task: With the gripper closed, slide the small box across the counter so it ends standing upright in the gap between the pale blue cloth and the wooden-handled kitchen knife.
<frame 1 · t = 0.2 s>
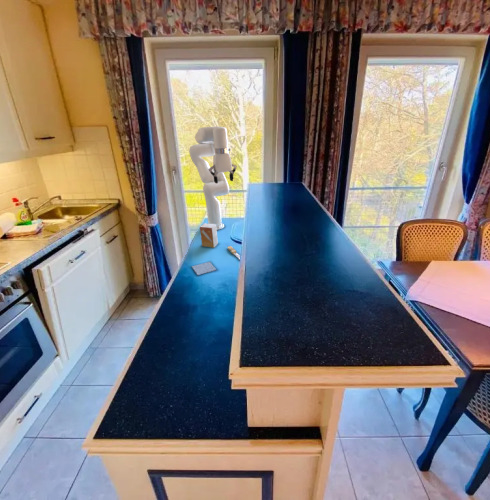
hand: (223, 181, 164), 36 cm above the table, tool pointing down, fingers open, 9 cm apart
small box: (210, 245, 172), on the table
knife: (234, 253, 160), on the table
cloth: (204, 268, 146), on the table
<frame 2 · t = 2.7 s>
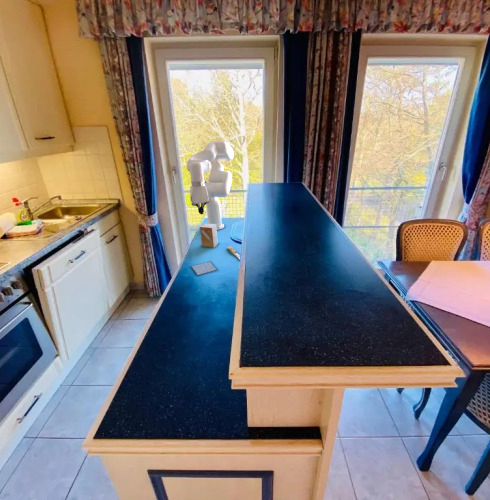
hand: (201, 213, 172), 18 cm above the table, tool pointing down, fingers closed
nothing on the table moved.
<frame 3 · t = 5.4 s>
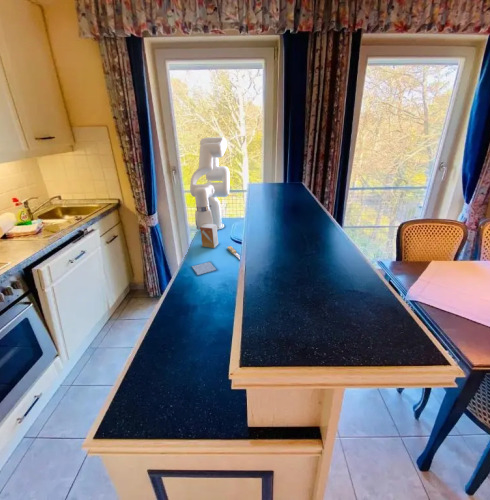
hand: (206, 236, 175), 4 cm above the table, tool pointing down, fingers closed
small box: (210, 245, 171), on the table, touching gripper
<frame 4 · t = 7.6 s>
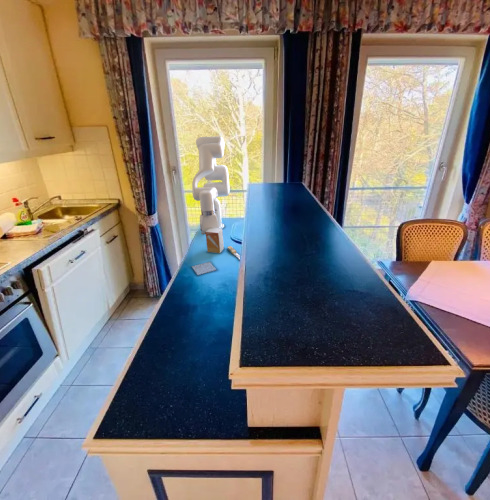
hand: (211, 241, 168), 4 cm above the table, tool pointing down, fingers closed
small box: (215, 251, 165), on the table, touching gripper
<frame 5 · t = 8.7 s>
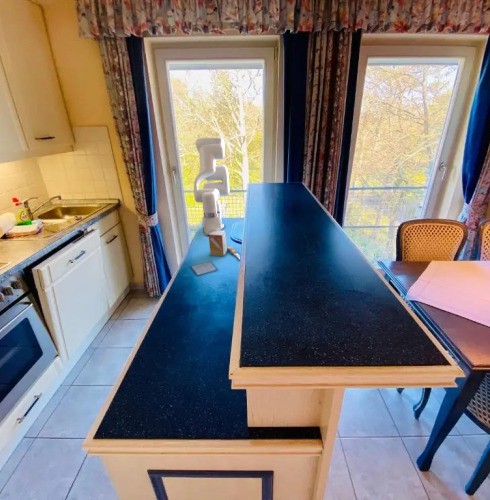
hand: (213, 243, 165), 4 cm above the table, tool pointing down, fingers closed
small box: (218, 253, 161), on the table, touching gripper
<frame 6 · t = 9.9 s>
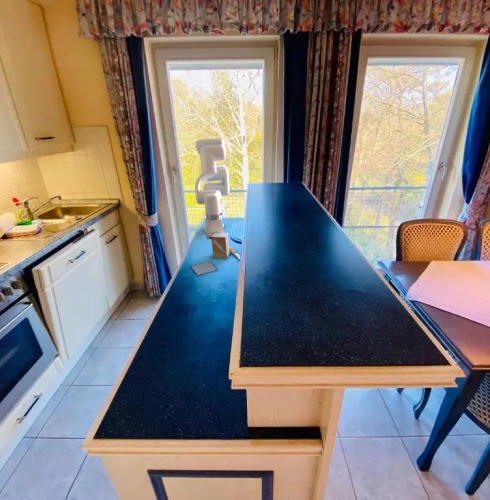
hand: (215, 246, 162), 4 cm above the table, tool pointing down, fingers closed
small box: (221, 256, 159), on the table, touching gripper
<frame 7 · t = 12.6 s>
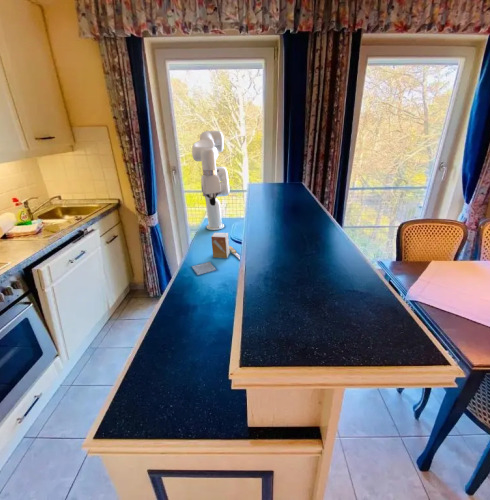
hand: (212, 204, 161), 25 cm above the table, tool pointing down, fingers closed
small box: (221, 256, 159), on the table
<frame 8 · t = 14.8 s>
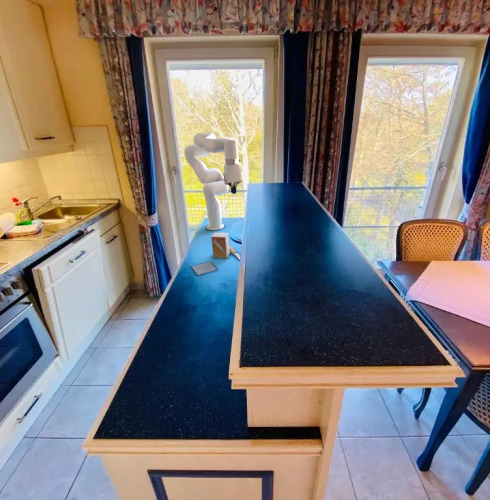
hand: (233, 193, 169), 29 cm above the table, tool pointing down, fingers closed
nothing on the table moved.
at the end: small box inside the target area on the table beside the cloth (1.4 cm from its centre), on the table; small box tilted 0°; small box moved 17.2 cm from its start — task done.
